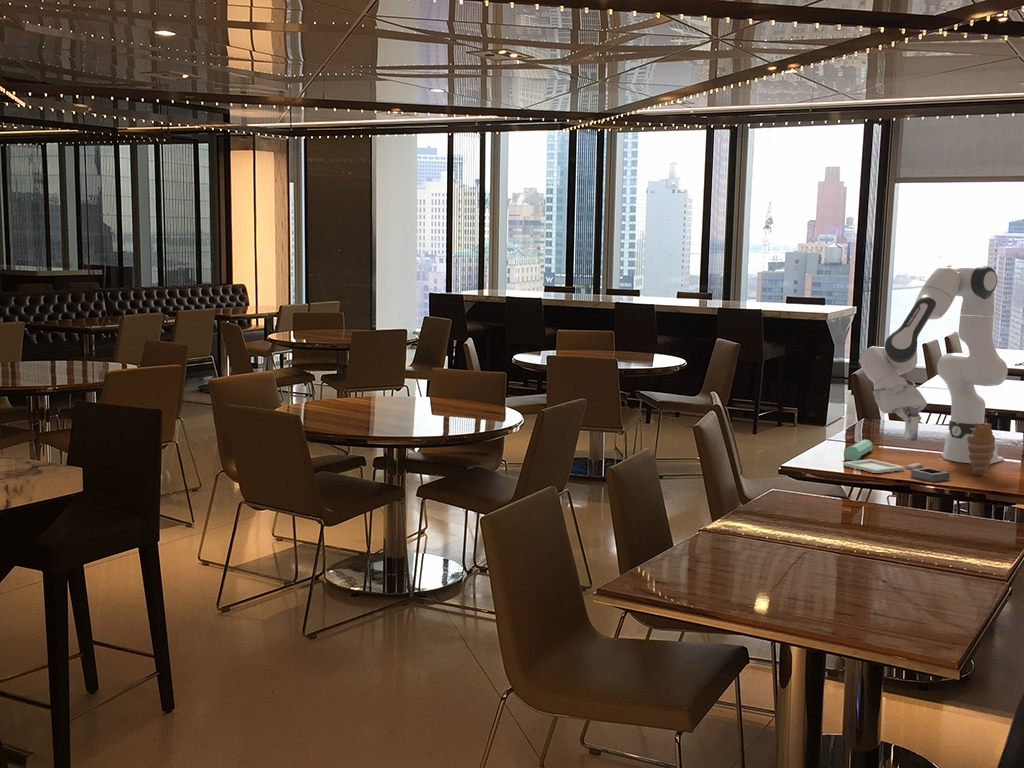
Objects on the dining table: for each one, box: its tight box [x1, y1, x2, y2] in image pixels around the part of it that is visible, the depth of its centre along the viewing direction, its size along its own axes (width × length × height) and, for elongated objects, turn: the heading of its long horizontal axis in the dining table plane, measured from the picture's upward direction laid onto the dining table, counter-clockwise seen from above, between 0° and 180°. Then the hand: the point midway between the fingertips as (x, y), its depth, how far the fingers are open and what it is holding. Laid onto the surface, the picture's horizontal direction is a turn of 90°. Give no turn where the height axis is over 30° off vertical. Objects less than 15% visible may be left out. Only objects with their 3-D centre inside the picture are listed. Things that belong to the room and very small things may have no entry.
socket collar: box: [910, 467, 951, 483], centre depth 320 cm, size 8×8×2 cm
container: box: [843, 439, 874, 461], centre depth 358 cm, size 6×6×25 cm
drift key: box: [905, 462, 924, 471], centre depth 338 cm, size 8×2×2 cm, turn 134°
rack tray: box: [842, 458, 905, 473], centre depth 334 cm, size 14×14×2 cm
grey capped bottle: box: [903, 406, 920, 441], centre depth 323 cm, size 4×4×11 cm
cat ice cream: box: [967, 423, 996, 477], centre depth 326 cm, size 9×8×18 cm
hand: (913, 420), depth 323 cm, fingers closed on grey capped bottle, 4 cm apart
